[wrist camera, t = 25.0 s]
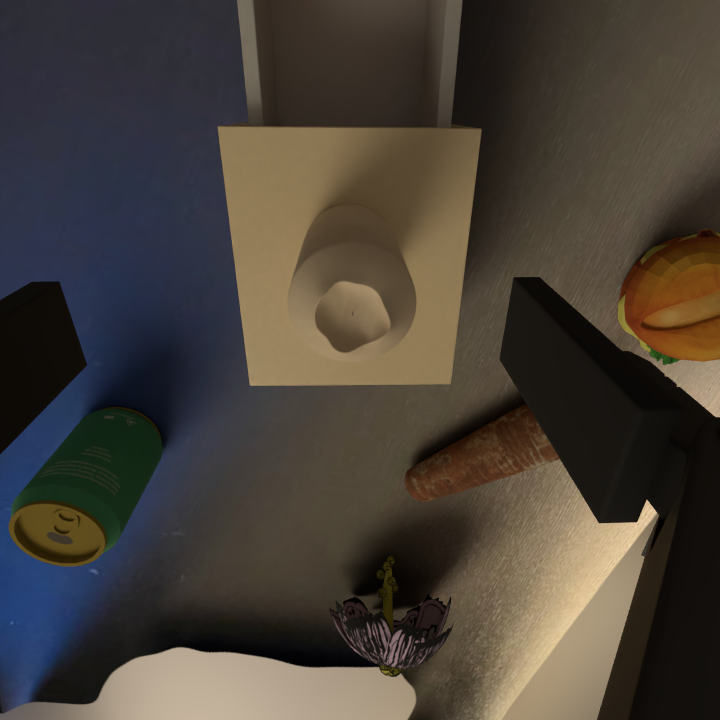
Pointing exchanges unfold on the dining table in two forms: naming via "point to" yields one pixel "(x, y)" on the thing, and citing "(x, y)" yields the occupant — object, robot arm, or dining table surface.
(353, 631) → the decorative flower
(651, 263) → the cheeseburger
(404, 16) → the drawer
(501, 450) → the brown sausage
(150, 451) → the beverage can
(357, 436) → the dining table surface
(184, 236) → the dining table surface
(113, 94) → the dining table surface
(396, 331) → the candle
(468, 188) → the small drawer cabinet
